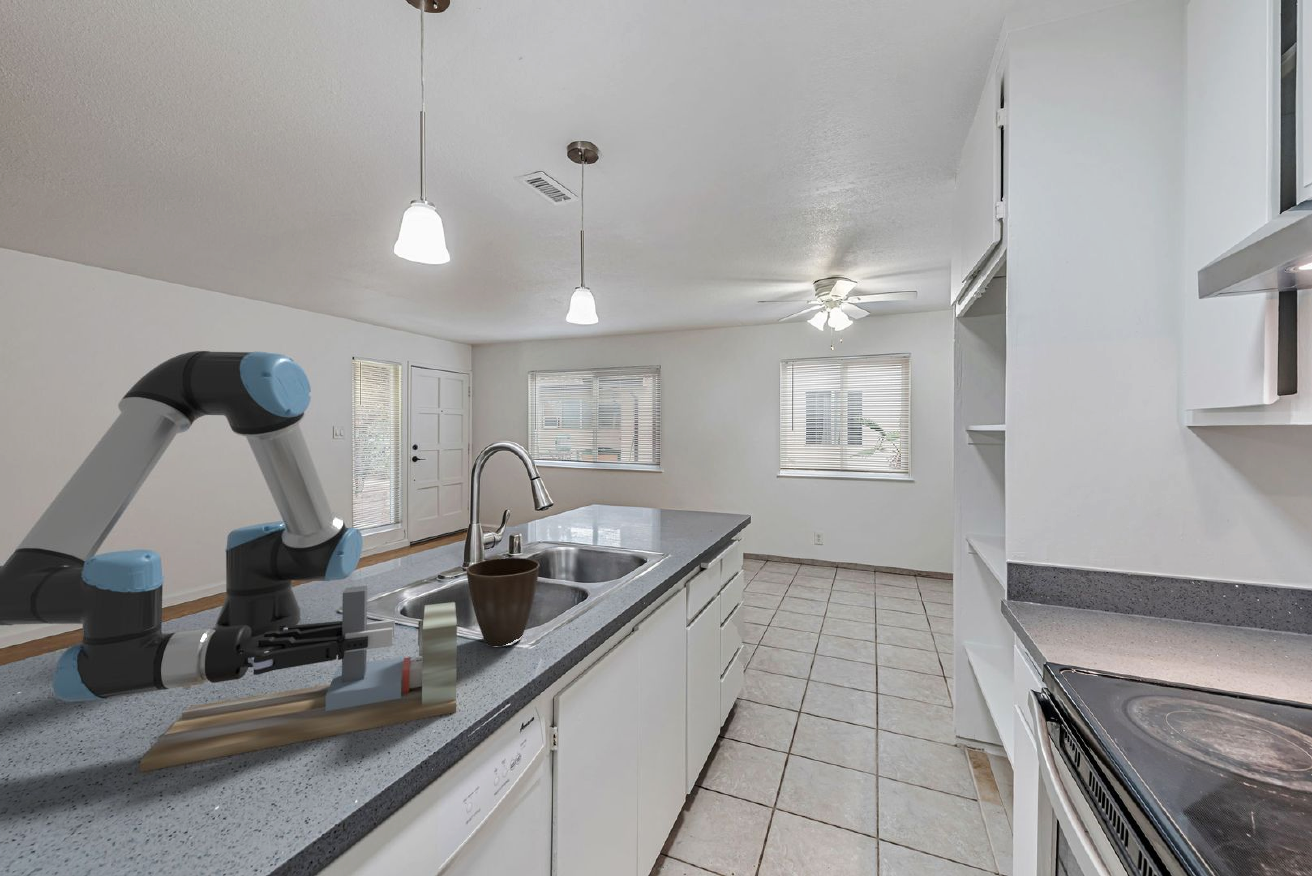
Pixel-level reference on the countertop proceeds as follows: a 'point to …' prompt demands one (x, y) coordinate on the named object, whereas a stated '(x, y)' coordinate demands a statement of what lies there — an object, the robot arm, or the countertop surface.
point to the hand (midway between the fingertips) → (393, 632)
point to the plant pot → (502, 597)
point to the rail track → (312, 707)
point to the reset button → (411, 675)
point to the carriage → (362, 663)
